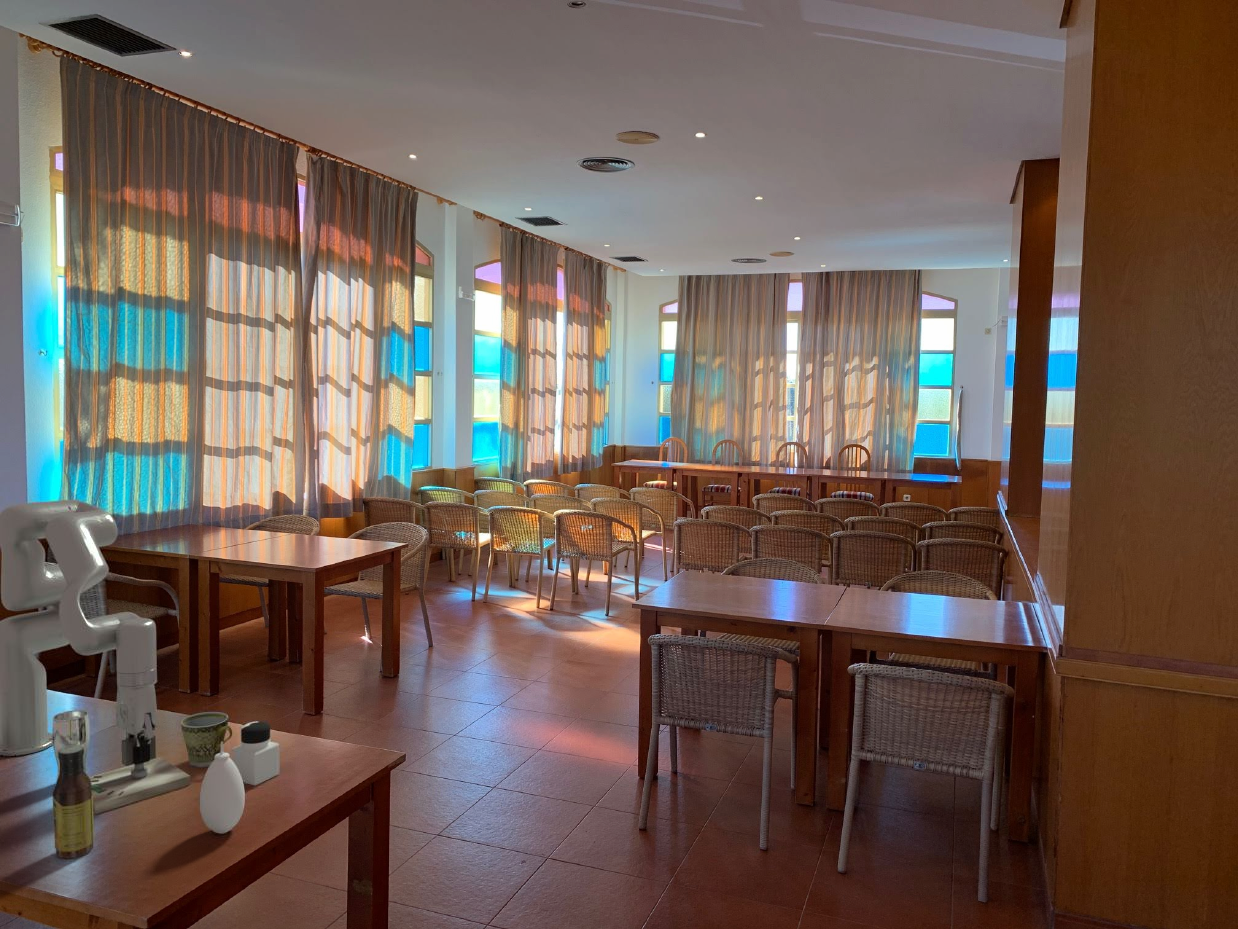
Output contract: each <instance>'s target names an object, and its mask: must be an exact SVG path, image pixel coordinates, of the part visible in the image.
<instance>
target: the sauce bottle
mask: <svg viewBox="0 0 1238 929" xmlns="http://www.w3.org/2000/svg"><path fill="white" fill-rule="evenodd" d="M83 755H84V747H83V746H82V745H69V746H66V747H63V748H61V749H60V750H59V751H58V758H59V761H60V771H59V773H60V774H59V777H58V780H57V779H56V780H57V783H56V782H55V785H54V788H53V791H52V808H53V809H52V810H53V811H52V812H53V833H54V834H53V835H54V849H55V853H56V856H57V857H58V858H61V859H74V858H80V857H84V856H85V855H86V854H88V853H89V852H90V851H92V850H93V848H94V841H95V840H94V839H95V826H94V825H95V822H94V813H93V795H92V787H91V786H92V785H91V780H90V778H89V777H90V776H89V774H88V775H87V774H86V773H85V772H84V771H83V770H84V766H83Z"/></svg>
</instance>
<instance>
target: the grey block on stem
mask: <svg viewBox="0 0 1238 929" xmlns="http://www.w3.org/2000/svg"><path fill="white" fill-rule="evenodd" d="M143 735H144V734H142V735H141V736H143ZM153 735H154V737H153V738H152V739H151V743H150V760H152V759H155V758H157V751H156V750H157V749H156V747H157V743H156V735H155V734H153ZM141 736H139V737H141ZM120 741H121V764H122V765H124V767H127V766H130V765H134V769H132V770H131V775H127V776H124V777H120V778H117V779H113V780H110V781H106V782H103V783H99V784H98V786H99V787H101V786H104V785H108V784H111V783H115V782H118V781H122V780H125V779H129V778H142V777H145V776H147V774H148V768H147V767H144V763H142V764H138V765H135V764H134V762H133V746H135V737H133V738H129V739H126V738H125V739H121V740H120Z"/></svg>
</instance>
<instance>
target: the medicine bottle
mask: <svg viewBox="0 0 1238 929" xmlns="http://www.w3.org/2000/svg"><path fill="white" fill-rule="evenodd" d="M231 760H232V761H233V762H234V763H235V765H236V767H237V768H238V770H239V773H240V775H241V778H242V781H243V782H244V783H243V784H247V785H252V786H255V787H257V785H260V784H262V783H263V782H266V781H268V780H270V779H272V778H274V777H276V776H278V775H280V744H279V743H278V742H273V741H271V725H270V724H269V723H268V722H265V721H261V720H260V721H251V722H247V723H246V724H244V725H242V727H241V728H240V744H239V745H238V746H235V747H232V748H231Z"/></svg>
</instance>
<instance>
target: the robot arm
mask: <svg viewBox="0 0 1238 929" xmlns="http://www.w3.org/2000/svg"><path fill="white" fill-rule="evenodd" d="M115 520H116V519H114V517H113V516H112V515H111V514H110V513H109V512H107V510H104V509H102V508H100V507H98V506H96V505H93V504H90V503H88V502H85V501H83V500H79V499H64V500H63V499H61V500H51V501H50V500H49V501H35V502H24V503H19V504H15V505H14V504H13V505H10V506H7V507H6V508H5V507H4V509H3V510H1V511H0V551H1V563H0V564H1V572H0V597H1V598H0V599H1V604H2V605H3V607H4V608H5V609H6V610H7V611H12V612H22V611H28V610H30V611H31V610H34V609H40V608H46V607H48V609H46V610H40V611H35V612H34V611H33V612H28V613H27V612H26V613H22V614H18V615H14V616H13V615H12V616H9V617H6V618H4V619H1V620H0V756H1V755H3V757H12V756H13V757H14V756H15V755H16V756H24V755H29V754H33V753H38V752H41V751H42V750H46V749H48V748H50V747H51V746H52V747H53V741H52V732H51V733H50V732H48V727H49V725H48V698H47V697H48V692H47V687H48V686H47V671H46V668H45V666H44V665H43V663H42V662H40V660H39V659H37V657H36V654H37V653H42V652H46V651H50V650H53V649H58V648H61V647H65V646H68V645H70V646H71V648H72V649H73V651H74V652H75V653H77V654H79V655H82V656H91V655H96V654H101V653H104V652H108V651H112V650H113V651H114V650H116V684H117V685H116V686H117V691H116V707H115V708H116V709H115V710H116V711H115V723H116V726H117V727H118V728H120V729H121V730H123V731H125V739H129V738H133V737H135V746H133V762H134V764H135V765H138V764H142V763H145V762H149V761H150V743H151V739H152V738H153V737H154V735H155V734H154V731H155V730H156V729H157V725H158V710H157V707H158V706H157V695H156V689H155V684H156V683H157V682H158V676H157V675H158V674H157V673H158V672H157V671H158V670H157V668H158V667H157V666H158V665H157V626H156V623H155V621H154V620H153V619H151V618H146V617H142V616H141V617H140V616H139V615H138V614H136V613H134V612H129V611H124V612H118V613H113V614H108V615H107V614H106V615H102V616H97V617H94V618H93V617H92V618H89V619H87V617H86V616H85V614H84V611H83V610H82V607H81V603H80V600H81V594H83V593H85V592H86V591H88V590H89V589H91V588H93V587H95V586H96V585H97V584H98V583H100V582H102V581H103V580H104V579H105V578H106V577H107V576H108V574H109V572H110V571H109V570H110V568H109V565H108V563H107V562H106V560H105V557H104V555H103V554H102V552H101V549H100V548H101V547H106V546H107V547H108V546H111V545H112V544H113V543H114V542H115V541H116V540H117V538H118V532H119V531H118V525H117V522H116V521H115ZM43 539H46V541H47V543H48V545H49V548H50V550H51V552H52V554H53V556H54V558H55V560H56V563H57V564H53V565H46V563H45V562H46V551H45V548H44V547H43V545H42V543H41V541H39V540H43ZM141 735H143V736H141ZM139 736H141V737H139ZM16 756H15V757H16ZM134 764H133V765H134Z"/></svg>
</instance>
